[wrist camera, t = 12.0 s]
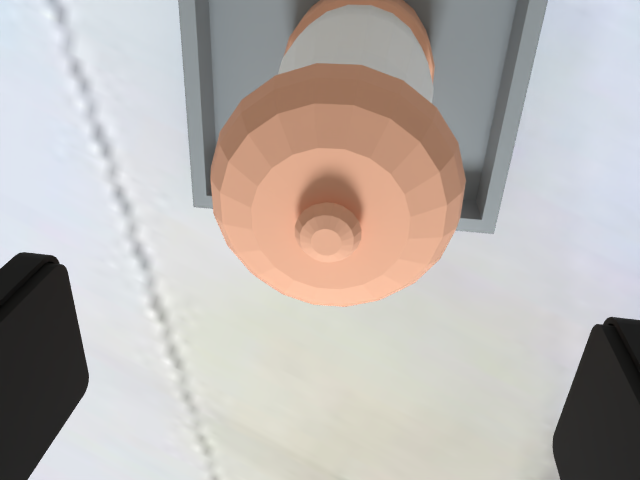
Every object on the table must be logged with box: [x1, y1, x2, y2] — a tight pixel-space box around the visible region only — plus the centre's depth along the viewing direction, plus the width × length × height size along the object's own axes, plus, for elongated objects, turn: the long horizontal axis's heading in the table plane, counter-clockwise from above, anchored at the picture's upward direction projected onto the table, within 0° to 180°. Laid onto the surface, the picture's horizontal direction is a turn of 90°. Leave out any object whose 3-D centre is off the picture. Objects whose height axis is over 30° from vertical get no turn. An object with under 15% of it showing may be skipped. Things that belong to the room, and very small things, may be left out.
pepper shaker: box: [210, 0, 466, 307], centre depth 22 cm, size 7×7×19 cm
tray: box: [178, 0, 548, 234], centre depth 29 cm, size 17×17×3 cm
